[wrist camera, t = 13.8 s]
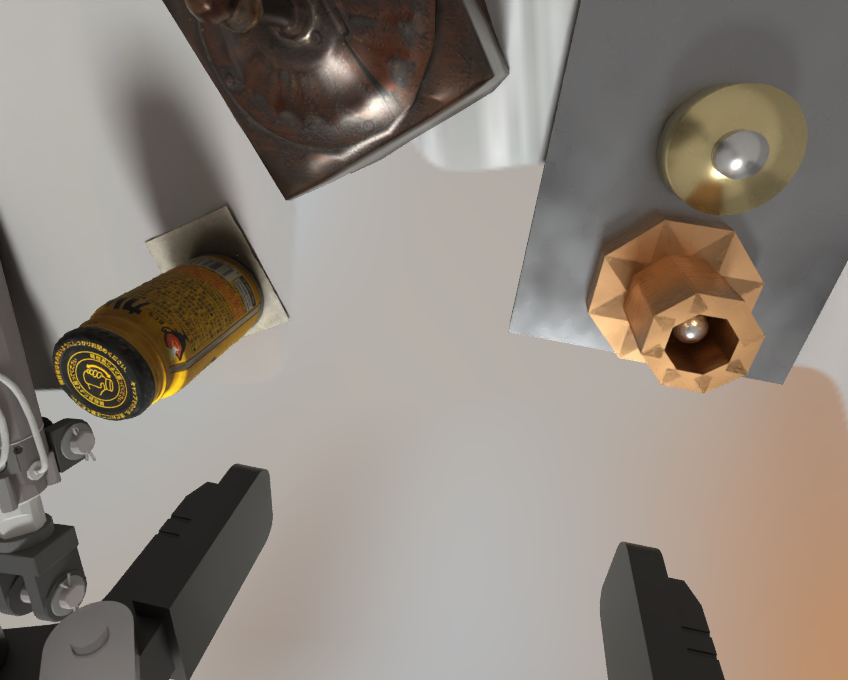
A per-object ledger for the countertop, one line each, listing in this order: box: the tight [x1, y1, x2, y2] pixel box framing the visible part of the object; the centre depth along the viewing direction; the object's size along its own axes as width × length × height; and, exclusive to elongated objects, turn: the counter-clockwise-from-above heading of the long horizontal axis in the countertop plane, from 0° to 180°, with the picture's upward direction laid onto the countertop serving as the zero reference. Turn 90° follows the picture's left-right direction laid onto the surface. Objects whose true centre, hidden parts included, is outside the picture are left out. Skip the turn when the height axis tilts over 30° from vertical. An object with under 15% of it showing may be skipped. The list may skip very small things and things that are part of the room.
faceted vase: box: [586, 213, 765, 393], centre depth 26 cm, size 8×8×7 cm
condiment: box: [52, 206, 290, 421], centre depth 31 cm, size 7×8×12 cm
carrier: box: [509, 0, 848, 384], centre depth 23 cm, size 24×16×7 cm, turn 173°
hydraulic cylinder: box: [0, 261, 96, 622], centre depth 40 cm, size 7×37×10 cm, turn 4°
